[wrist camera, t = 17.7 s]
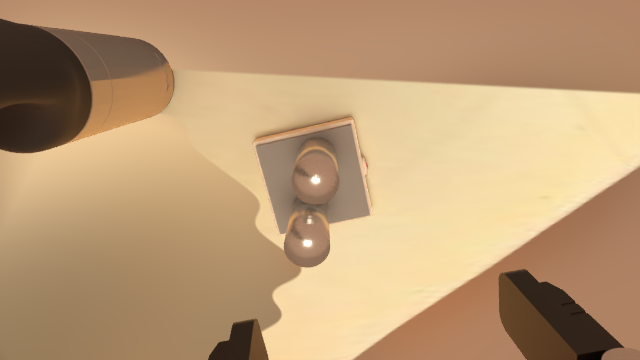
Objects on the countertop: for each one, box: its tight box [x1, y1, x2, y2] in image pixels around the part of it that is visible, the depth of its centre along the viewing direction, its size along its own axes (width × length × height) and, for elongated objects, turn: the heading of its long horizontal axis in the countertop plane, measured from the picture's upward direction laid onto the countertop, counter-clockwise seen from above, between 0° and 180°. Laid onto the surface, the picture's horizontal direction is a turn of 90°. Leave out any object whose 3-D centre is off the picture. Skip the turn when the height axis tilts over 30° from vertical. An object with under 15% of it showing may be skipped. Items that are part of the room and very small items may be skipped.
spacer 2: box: [284, 197, 330, 267], centre depth 43 cm, size 4×4×10 cm
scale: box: [253, 117, 373, 235], centre depth 48 cm, size 12×12×3 cm
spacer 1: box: [291, 138, 339, 204], centre depth 41 cm, size 4×4×10 cm
